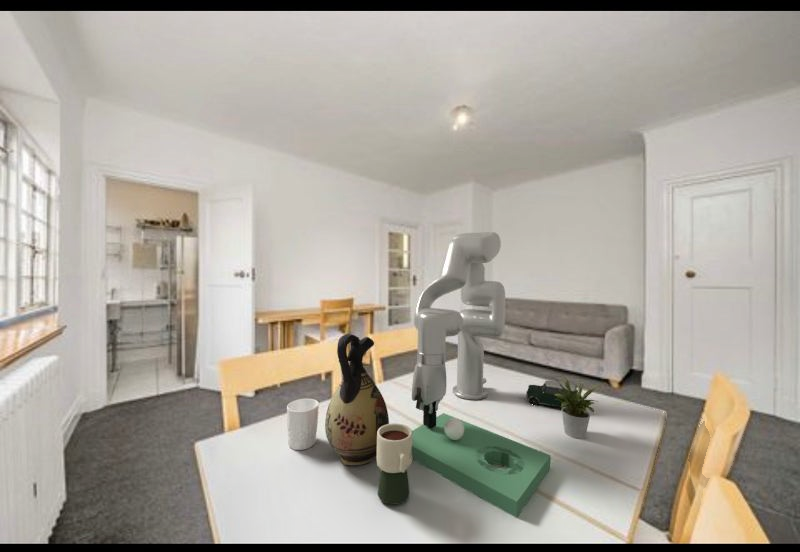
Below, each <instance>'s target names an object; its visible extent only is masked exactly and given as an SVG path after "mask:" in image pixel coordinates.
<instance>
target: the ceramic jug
mask: <svg viewBox="0 0 800 552" xmlns="http://www.w3.org/2000/svg"><path fill="white" fill-rule="evenodd" d="M348 345H350V347H349V348H350V349H349V351H347V348H348ZM374 346H375V341H374V340H373V339H372V338H370V337H368V336H365V337H363V338H361V339H360V337H359V336H356V335H355V334H353V333H352V334H351V333H345V334H344V335H341V336H340V337H339V339H338V342H337V349H336V351H337V352H336V354H337V359H338V363H339V365H340V370H341V374H342V376H343V377H342V380H341V381H340V383H339V384H338V386H337V387H336V389H335V391H334V393H333V395H332V397H331V398H330V400H329V403H328V407H327V410H326V412H325V413H326V414H325V423H324V426H325V428H324V429H325V435H326V439H327V442H328V443H329V446H330V447H331V448H332V449H333V450H334V452H335V453H336V454H338V456H339V460H340V462H341V463H342V464H343V465H346V466H361V465H366V464H369V463H371V462H372V461H374V460H375V459H377V431H378V429H379V428H380V427H382V426H383V425H387V424H390V419H389V412H388V408H387V405H386V401H385V399H384V396H383V395H382V393H381V391H380V390H379V388H378V386H377V384H376V382H375V381H374V380H373V379H372V377H371V375H369V374H368V372H367V370H366V368H365V367H364V364H363V358H364V355H366V353H367V351H369V350H370V349H371V348H373V347H374ZM347 352H348V353H347ZM347 354H348V355H347Z"/></svg>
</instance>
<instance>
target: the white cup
mask: <svg viewBox="0 0 800 552" xmlns="http://www.w3.org/2000/svg"><path fill="white" fill-rule="evenodd" d="M319 403H320V402H319V401H318V400H316V399H313V398H299V399H295V400H293V401H291V402H289V403H288V404H287V405H286V420H287V421H286V422H287V436H288V437H287V439H288V446H289V448H290V449H291V450H293V451H302V450H307V449H310V448H312V447H313V446H314V445H315V444H316V441H317V432H318V425H319V424H318V423H319V422H318V420H319V408H320V407H319V406H320V404H319Z"/></svg>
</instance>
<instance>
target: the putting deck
mask: <svg viewBox="0 0 800 552" xmlns="http://www.w3.org/2000/svg"><path fill="white" fill-rule="evenodd" d="M451 418H456V419H458V420H460V421H461V422H462V424H463V426H464V434H463V436H462V437H461V438H460V439H458V440H451V439H450V438H448V437H447V436H446V434H445V431H444V425H445V423H446V421H447V420H449V419H451ZM412 443H413V444H412V460H413V461H416V462H417V463H419V464H421V465H423V466H424V467H426V468H427V469H429V470H431V471H432V472H435V473H437V474H439V475H440V476H442V477H443V478H446V479H447V480H449V481H450V482H452V483H454V484H456V485H457V486H460V487H461V488H463V489H465V490H467V491H468V492H470V493H472V494H474V495H475V496H477V497H479V498H481V499H483V500H484V501H485V502H488V503H490V505H493V506H495V507H497V508H498V509H501V510H502V511H504V512H506V514H509V515H511V516H512V517H514V518H515V519H516V518H518V516H519V515H520V513H521V512H522V511H523V509H524V508H525V506H526V505H527V503H528V502H529V500H530V499H531V497H532V496H533V495H534V493H535V491H536V490H537V489H538V487H539V485H540V484H541V482H542V481H543V480H544V479H545V477H546V476H547V474H548V472H549V471H550V470H551V459H552V457H551V456H552V455H551V454H548V453H546V452H543V451H541V450H537V449H536V448H534V447H531V446H528V445H525V444H523V443H522V442H518V441H515V440H513V439H510V438H508V437H506V436H503V435H500V434H498V433H495V432H493V431H490V430H488V429H485V428H482V427H480V426H477V425H474V424H472V423H470V422H469V421H464V420H463V419H459V418H457V417H455V416H452V415H449V414H447V413H444V412H443V413H442V414H439V415H436V426H435V427H434V428H429V427H427V426H425V425H424V424H423V423H422V425H420V426H418V427H417V428H414V429H413V430H412ZM492 464H498V465H502V466H504V467H507V468H502V467H497V466H494V465H492Z"/></svg>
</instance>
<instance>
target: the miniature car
mask: <svg viewBox="0 0 800 552" xmlns="http://www.w3.org/2000/svg"><path fill="white" fill-rule="evenodd" d="M558 381H559V380H558ZM558 381H557V380H552V379H551V380H549V379H548V380H545V382H544V383H543V384H542V385H538V384H537V385H536V384H529V385H528V387H527V390H526V392H525V393H526V394H525V398H526V400H528V403H529V405H531V404H533V405H532V406H534V405H537V406H538V405H539V404H542V405H548V406H552V407H557V408H561V409H562V408H563V407H566V406H567V405H566V406H563V407H561V404H562V402H565V401H564V400H563V399H560V398H557V397H558V396H555V394H561V395H562V396H563V394H562V392H563V393H564V395H565V397H566V398H567V400H568V402H569V403H570V401H569V399H568V397H567V395H566V393H565V392H564V390H563V388H562V387H561V386H560V384H561V385H562V386H563V387H564V388H565V389H566V390H567V391H568V389H567V387H566V386H565V383H564V381H559V382H560V384H559V382H558ZM555 384H558V385H555ZM569 385H570V388H571V391H572V394H573V392H575V388H576V385H574V384H571V383H569ZM551 386H554V387H551ZM557 387H558V388H559V389H561V391H562V392H561V391H560V390H559V389H558V388H557ZM577 390H578V389H576V392H577ZM568 393H569V392H568ZM582 397H583V395H581V396H580V400H581V399H582ZM556 399H558V400H556ZM580 400H579V401H580ZM561 401H562V402H561ZM578 403H579V402H578ZM567 407H568V406H567Z"/></svg>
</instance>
